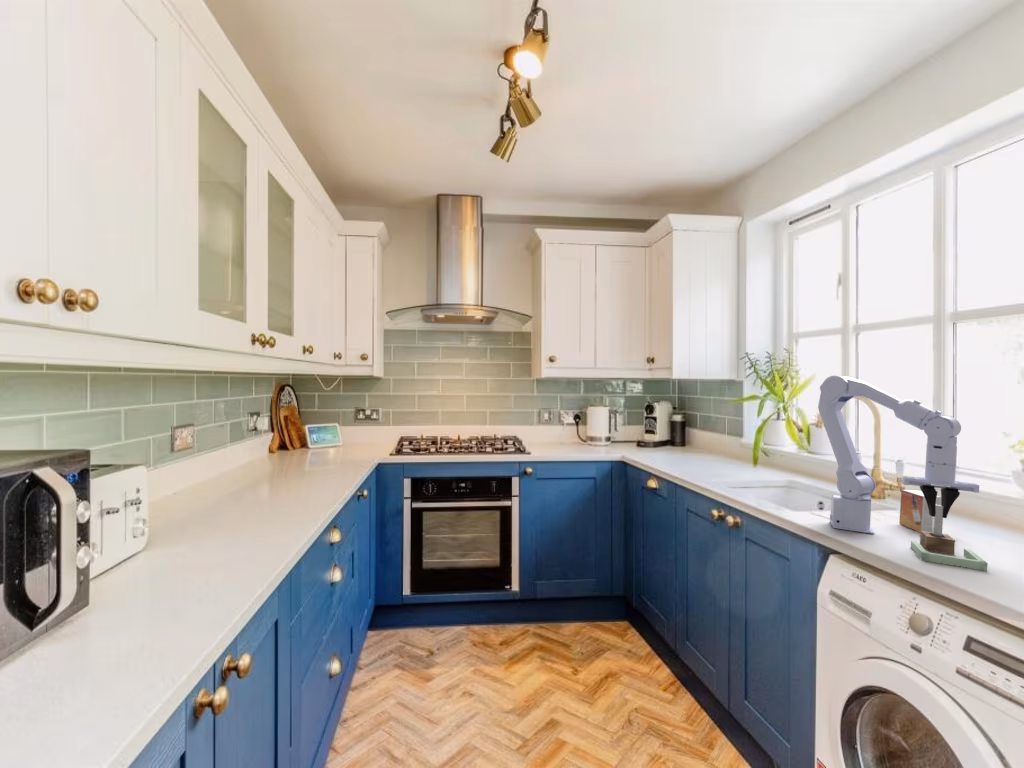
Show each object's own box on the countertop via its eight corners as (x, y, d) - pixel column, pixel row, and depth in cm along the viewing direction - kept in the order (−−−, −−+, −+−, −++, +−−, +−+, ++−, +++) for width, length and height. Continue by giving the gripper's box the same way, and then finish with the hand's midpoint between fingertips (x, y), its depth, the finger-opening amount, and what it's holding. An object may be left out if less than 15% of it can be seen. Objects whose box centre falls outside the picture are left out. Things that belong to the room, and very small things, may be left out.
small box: (898, 524, 143) (900, 489, 142) (917, 525, 142) (919, 490, 142) (920, 533, 135) (922, 495, 134) (941, 533, 134) (943, 496, 134)
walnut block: (926, 550, 120) (926, 536, 120) (919, 543, 125) (920, 530, 125) (954, 554, 118) (954, 540, 118) (946, 547, 122) (947, 534, 122)
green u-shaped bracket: (922, 560, 113) (922, 552, 113) (910, 547, 122) (910, 540, 122) (987, 571, 107) (987, 563, 107) (970, 556, 116) (970, 549, 116)
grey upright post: (933, 536, 121) (935, 505, 121) (931, 534, 122) (933, 503, 122) (941, 537, 120) (943, 506, 120) (939, 536, 122) (941, 504, 121)
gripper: (908, 462, 121) (905, 515, 121) (985, 469, 114) (982, 525, 114) (901, 458, 127) (898, 508, 127) (974, 464, 120) (971, 518, 121)
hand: (937, 516), depth 121 cm, fingers closed on grey upright post, 2 cm apart
